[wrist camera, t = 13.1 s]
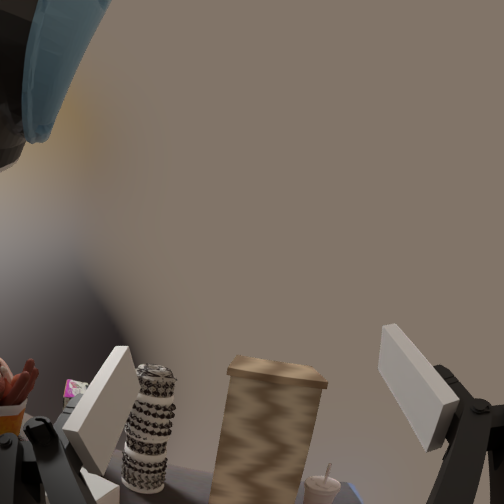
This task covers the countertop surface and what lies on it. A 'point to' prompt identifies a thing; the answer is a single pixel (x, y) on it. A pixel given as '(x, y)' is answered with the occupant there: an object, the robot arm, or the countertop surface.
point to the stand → (265, 431)
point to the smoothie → (321, 489)
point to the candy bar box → (73, 391)
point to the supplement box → (100, 489)
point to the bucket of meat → (15, 395)
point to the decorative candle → (149, 430)
